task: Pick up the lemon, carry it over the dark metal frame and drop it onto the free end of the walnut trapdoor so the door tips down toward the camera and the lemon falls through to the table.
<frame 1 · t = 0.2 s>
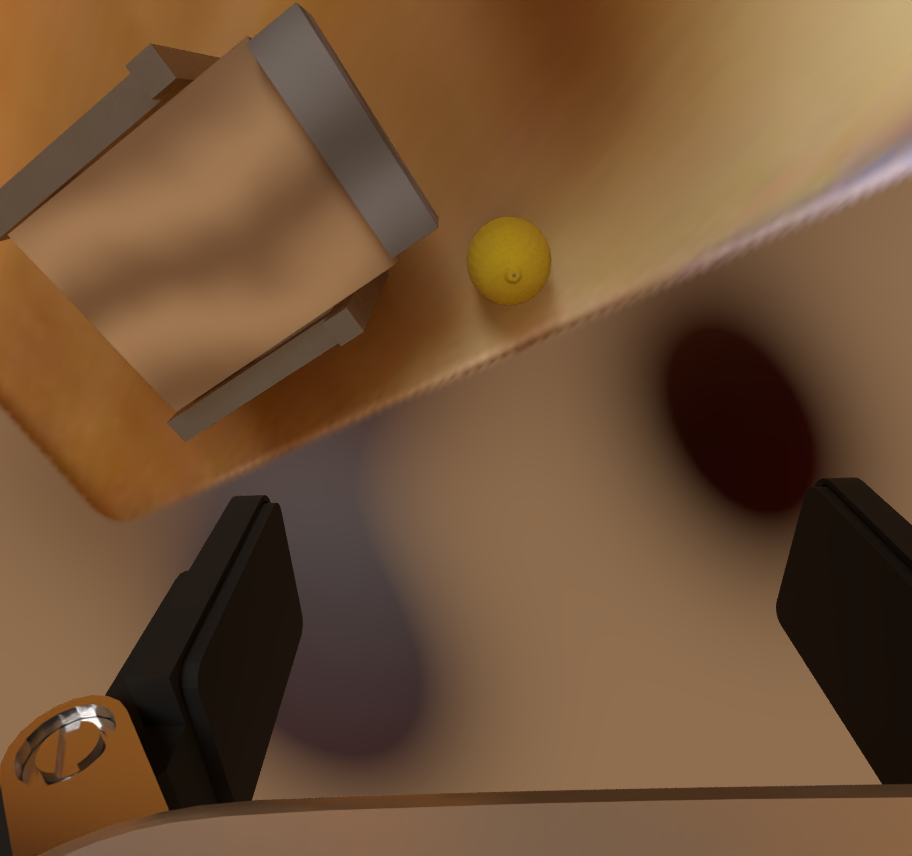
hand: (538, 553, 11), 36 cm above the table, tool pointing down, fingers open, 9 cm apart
lemon: (504, 248, 44), on the table
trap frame: (265, 216, 43), on the table
trapdoor: (229, 232, 32), point 12 cm above the table, hinge at 2.0°
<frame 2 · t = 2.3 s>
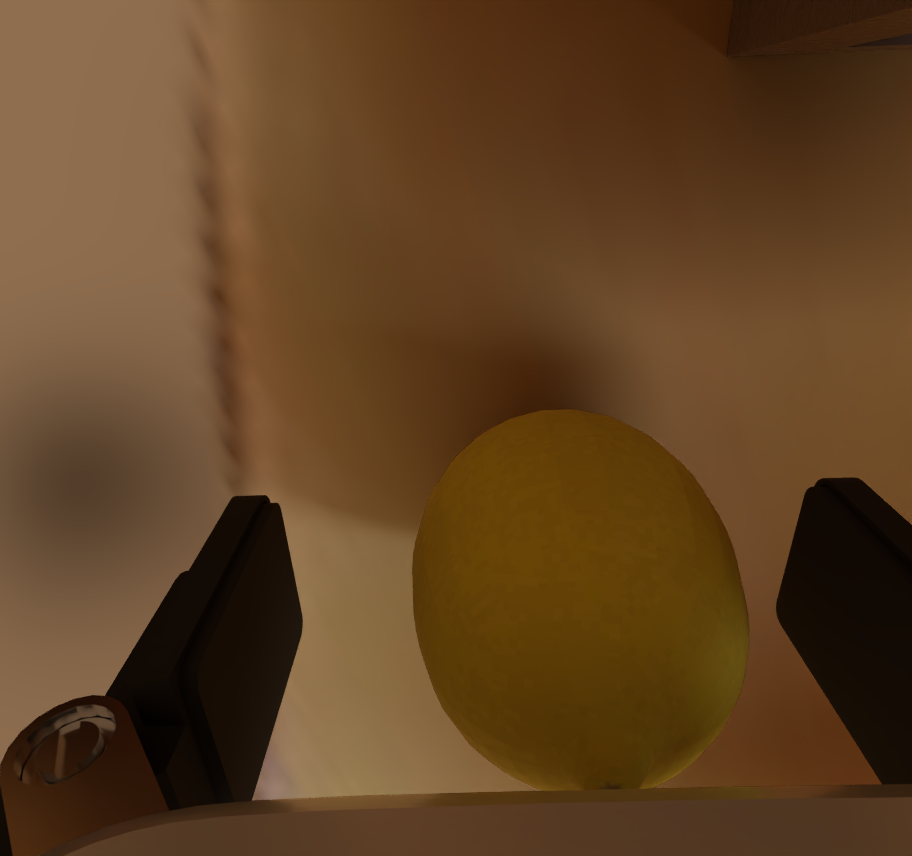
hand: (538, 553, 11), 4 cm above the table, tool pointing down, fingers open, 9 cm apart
lemon: (542, 459, 15), on the table
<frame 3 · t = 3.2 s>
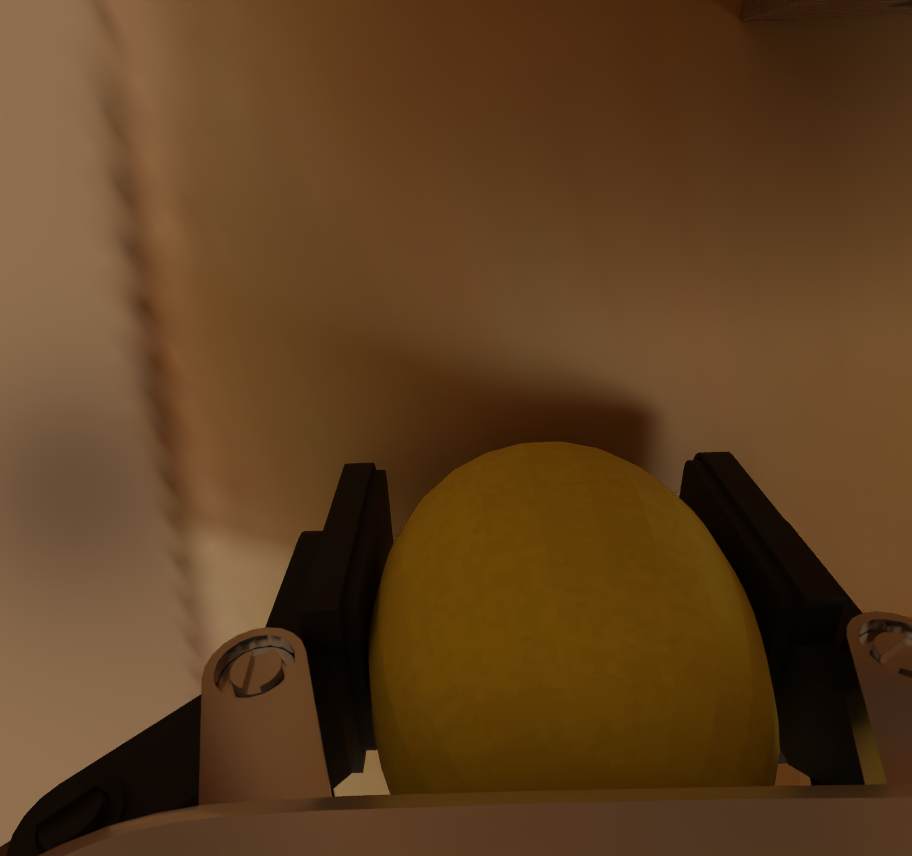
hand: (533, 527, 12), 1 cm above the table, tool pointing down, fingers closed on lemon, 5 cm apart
lemon: (526, 489, 13), on the table, touching gripper
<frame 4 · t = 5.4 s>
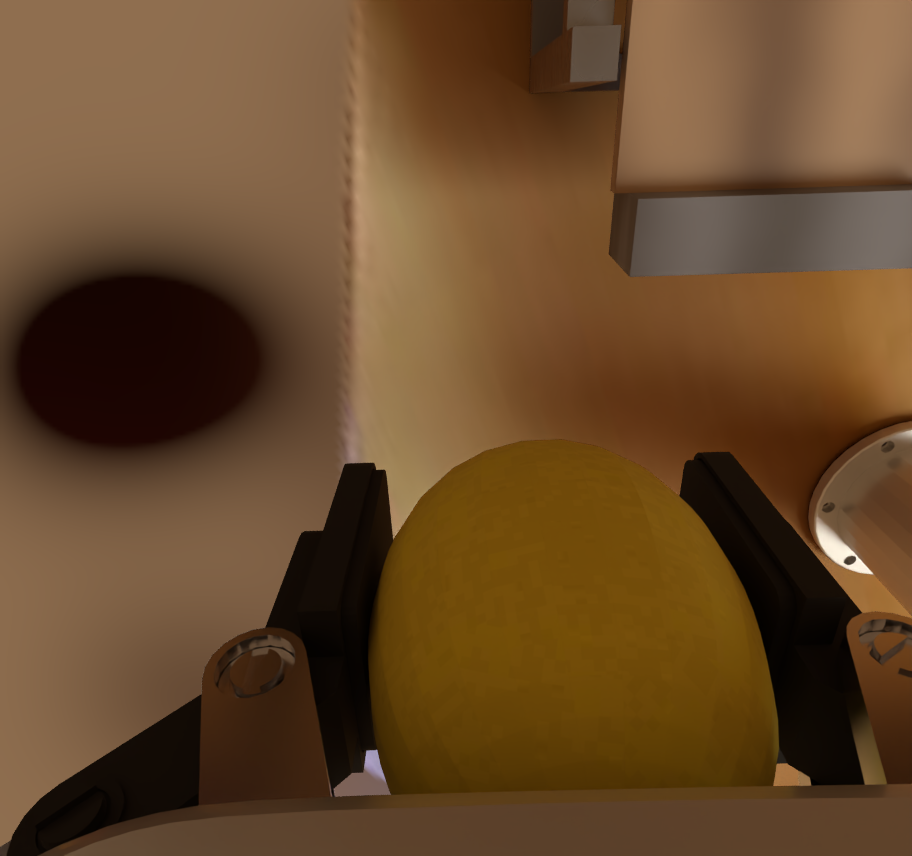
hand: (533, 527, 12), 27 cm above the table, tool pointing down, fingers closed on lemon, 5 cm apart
lemon: (526, 487, 13), point 26 cm above the table, touching gripper
when the fingers open (16 cm above the table, at t = 7.8 s): lemon drops 14 cm, point 1 cm above the table.
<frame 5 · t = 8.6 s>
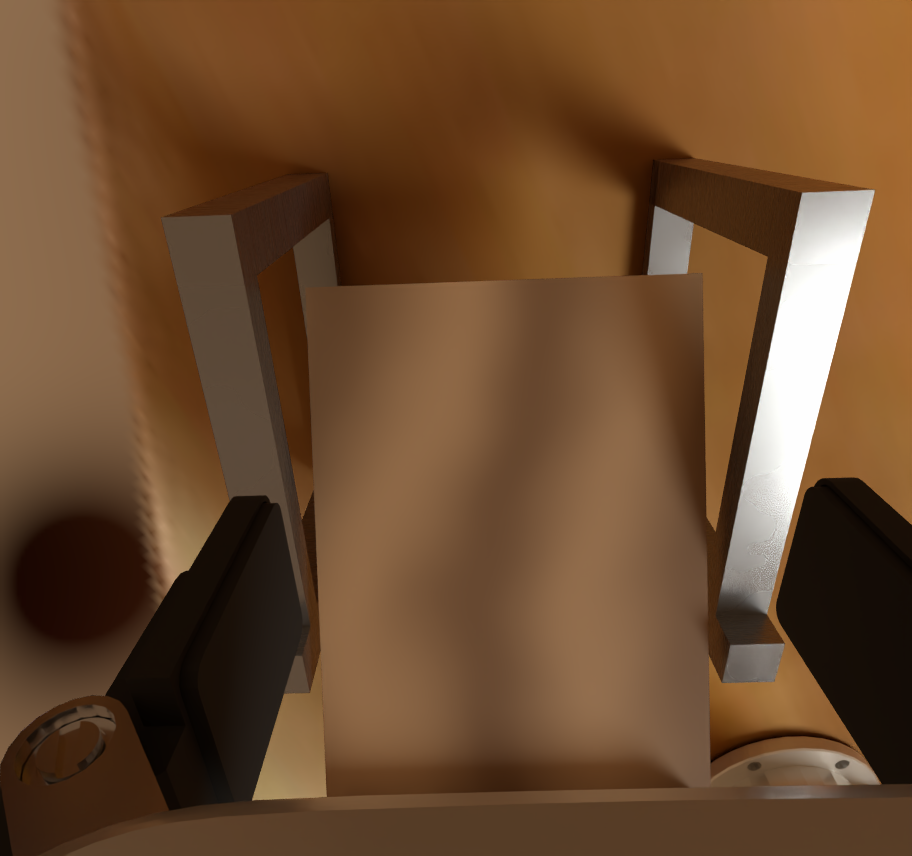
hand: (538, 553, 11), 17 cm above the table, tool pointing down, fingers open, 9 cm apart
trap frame: (492, 384, 28), on the table
trapdoor: (510, 583, 19), point 11 cm above the table, hinge at -24.6°
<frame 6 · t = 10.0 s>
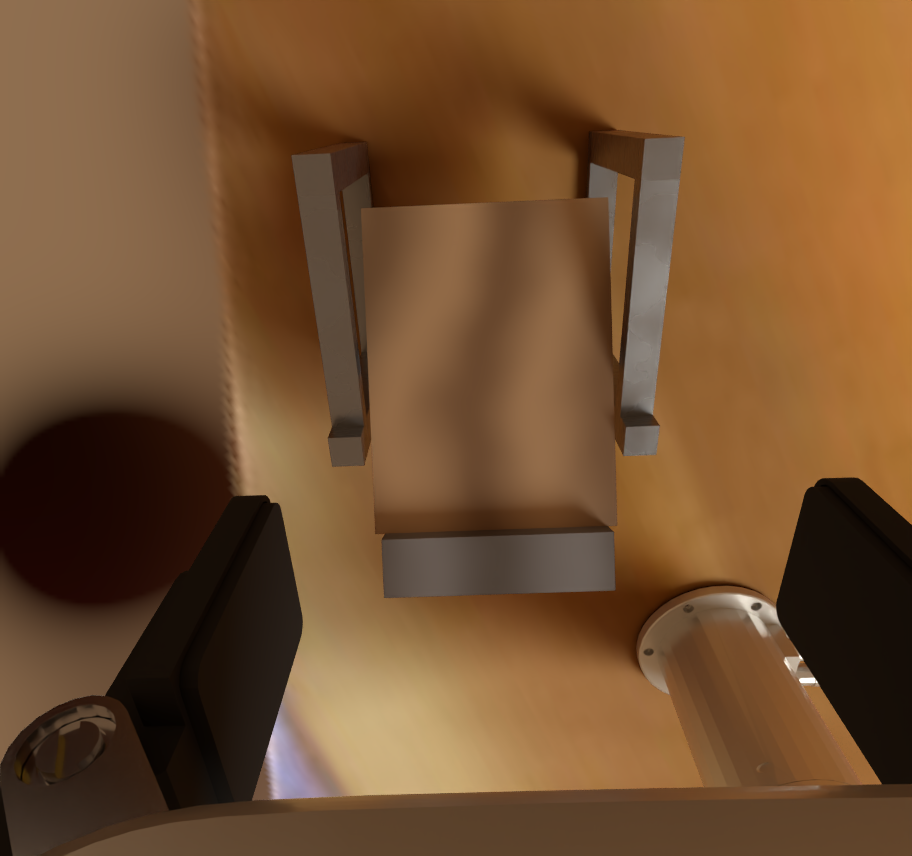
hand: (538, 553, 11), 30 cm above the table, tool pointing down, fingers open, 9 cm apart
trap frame: (481, 296, 40), on the table
trapdoor: (490, 396, 31), point 11 cm above the table, hinge at -24.6°
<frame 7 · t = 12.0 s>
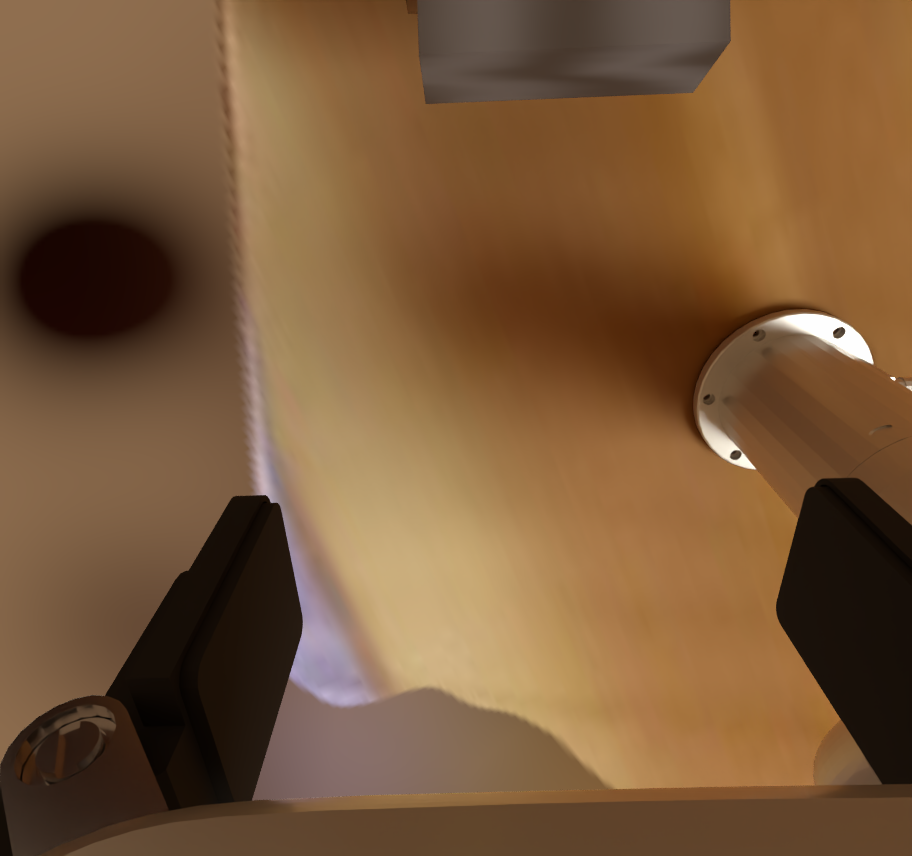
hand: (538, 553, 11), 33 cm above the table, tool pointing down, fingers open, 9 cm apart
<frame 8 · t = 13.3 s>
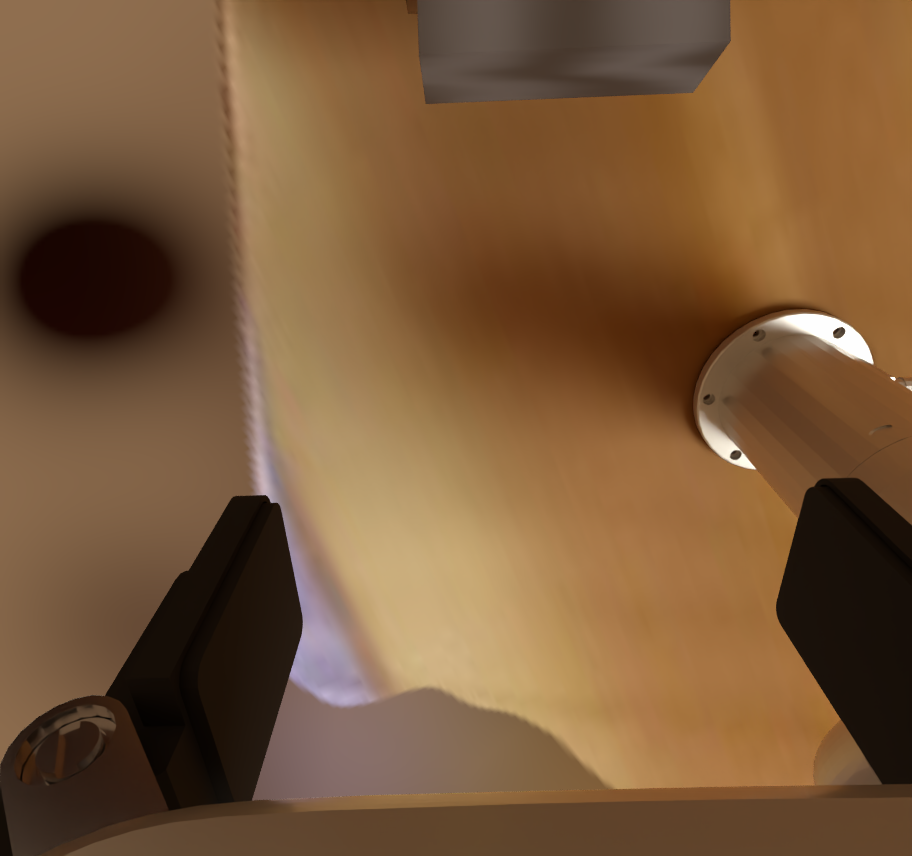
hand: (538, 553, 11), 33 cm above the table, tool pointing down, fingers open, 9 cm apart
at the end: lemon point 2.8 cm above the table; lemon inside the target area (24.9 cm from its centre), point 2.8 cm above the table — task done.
